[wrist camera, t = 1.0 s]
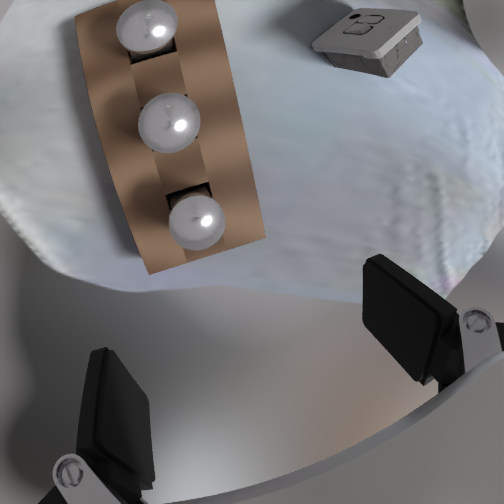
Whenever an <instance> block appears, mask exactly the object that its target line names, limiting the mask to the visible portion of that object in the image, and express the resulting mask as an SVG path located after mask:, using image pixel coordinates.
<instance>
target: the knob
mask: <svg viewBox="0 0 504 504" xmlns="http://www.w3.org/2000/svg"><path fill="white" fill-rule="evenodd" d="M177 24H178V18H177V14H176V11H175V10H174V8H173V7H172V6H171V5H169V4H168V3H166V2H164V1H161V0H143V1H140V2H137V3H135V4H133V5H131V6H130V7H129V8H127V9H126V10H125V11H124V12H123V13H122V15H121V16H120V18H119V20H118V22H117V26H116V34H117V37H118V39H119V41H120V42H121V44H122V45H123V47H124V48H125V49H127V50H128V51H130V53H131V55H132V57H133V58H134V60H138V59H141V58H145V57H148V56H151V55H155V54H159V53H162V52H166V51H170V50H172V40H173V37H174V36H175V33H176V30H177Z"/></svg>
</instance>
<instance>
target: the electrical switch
mask: <svg viewBox="0 0 504 504" xmlns="http://www.w3.org/2000/svg"><path fill="white" fill-rule="evenodd" d="M421 21H422V19H421V17H420V15H419V13H417V12H415V11H406V10H394V9H370V8H359V9H355V10H353V11H352V12H350V13H349V14H348V15H346V16H345V17H344V18H342V19H341V20H340V21H338V22H337V23H336V24H334V25H333V26H332V27H331V28H329V29H328V30H327V31H326V32H324V33H323V34H322V35H321V36H319V37H318V38H317V39H316V40H315V41H313V42H312V43H311V45H312V47H313V49H314V51H316V52H324V54H325V55H326V56H327V57H328V58H329V60H330V61H331V63H332V64H333V66H334V67H337V68H343V69H348V70H354V71H359V72H364V73H368V74H373V75H377V76H381V77H385V78H387V77H388V78H389V77H390V76H391V75H392V74H393V73H394V72H395V71H396V70H397V69H398V68H399V67H400V66H401V65H402V64H403V63H404V62H405V61H406V60H407V59H408V58H409V57H410V56H411V55H412V54H413V53H414V52H415V51H416V50H417V49H418V48H419V47H420V46H421V45H422V44H423V42H422V39H421V37H420V34H419V29H418V27H417V25H418V24H419V23H420V22H421ZM405 39H406V41H407V43H408V44H407V43H405ZM416 44H417V45H416ZM397 55H398V56H397ZM385 72H386V73H385Z"/></svg>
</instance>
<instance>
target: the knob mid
mask: <svg viewBox="0 0 504 504" xmlns="http://www.w3.org/2000/svg"><path fill="white" fill-rule="evenodd" d="M199 128H200V114H199V111H198V108H197V107H196V105H195V104H194V103H193V101H192V100H190V99H189V98H188V97H186V96H184V95H182V94H178V93H164V94H161V95H158V96H156V97H154V98H153V99H151V100H150V101H149V102H148V103H147V104H146V105H145V106H144V108H143V109H142V111H141V113H140V116H139V121H138V129H139V133H140V136H141V138H142V140H143V141H144V143H145V144H146V145H147V146H148V147H150V148H151V149H153V150H155V151H157V152H161V153H174V152H178V151H180V150H182V149H184V148H186V147H187V146H189V145H190V144H191V143H192V142H193V141H194V139H195V138H196V136H197V134H198V132H199Z"/></svg>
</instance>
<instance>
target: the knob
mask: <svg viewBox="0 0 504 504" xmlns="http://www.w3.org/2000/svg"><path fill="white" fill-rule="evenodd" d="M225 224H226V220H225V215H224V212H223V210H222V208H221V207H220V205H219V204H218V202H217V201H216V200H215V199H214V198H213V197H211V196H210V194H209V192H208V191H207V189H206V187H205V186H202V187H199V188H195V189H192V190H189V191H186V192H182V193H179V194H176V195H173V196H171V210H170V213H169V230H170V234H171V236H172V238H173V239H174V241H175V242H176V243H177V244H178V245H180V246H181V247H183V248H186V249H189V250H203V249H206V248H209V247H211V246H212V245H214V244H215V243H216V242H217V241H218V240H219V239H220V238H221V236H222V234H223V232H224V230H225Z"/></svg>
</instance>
